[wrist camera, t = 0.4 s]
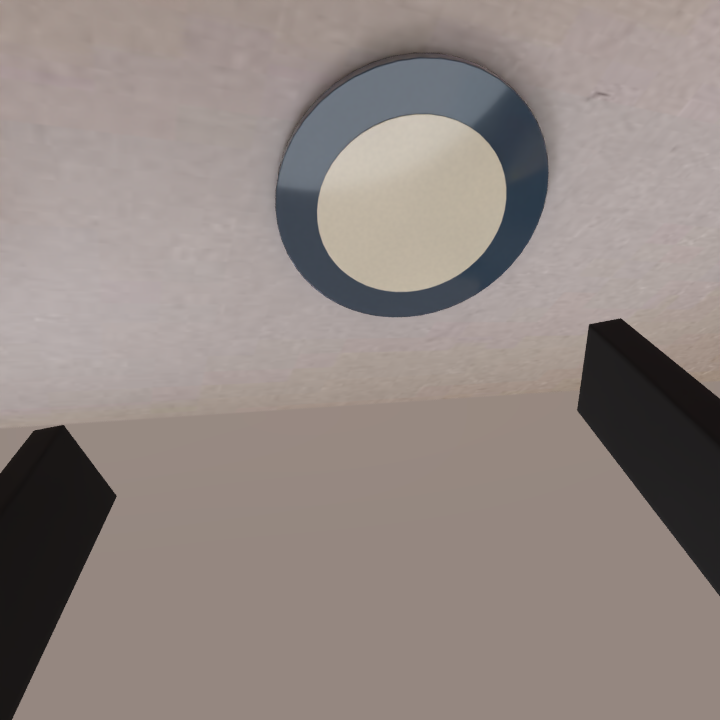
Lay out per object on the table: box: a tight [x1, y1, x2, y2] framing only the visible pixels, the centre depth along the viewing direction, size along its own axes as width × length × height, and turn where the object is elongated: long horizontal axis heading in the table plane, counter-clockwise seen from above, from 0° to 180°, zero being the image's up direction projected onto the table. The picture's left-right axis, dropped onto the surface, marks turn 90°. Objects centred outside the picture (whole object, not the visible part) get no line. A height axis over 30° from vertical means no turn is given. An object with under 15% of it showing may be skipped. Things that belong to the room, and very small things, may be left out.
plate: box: [275, 53, 549, 317], centre depth 33 cm, size 20×20×1 cm
